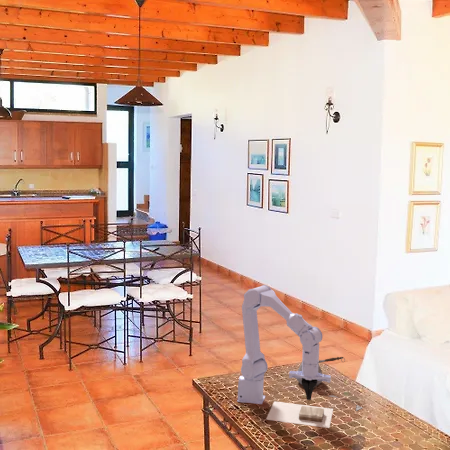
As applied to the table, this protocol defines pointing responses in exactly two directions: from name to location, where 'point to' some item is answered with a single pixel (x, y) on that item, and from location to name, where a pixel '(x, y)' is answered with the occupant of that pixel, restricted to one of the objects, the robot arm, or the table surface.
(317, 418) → the tile
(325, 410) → the mat
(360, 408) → the handheld gaming device
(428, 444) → the table surface
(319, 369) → the coffee pot
